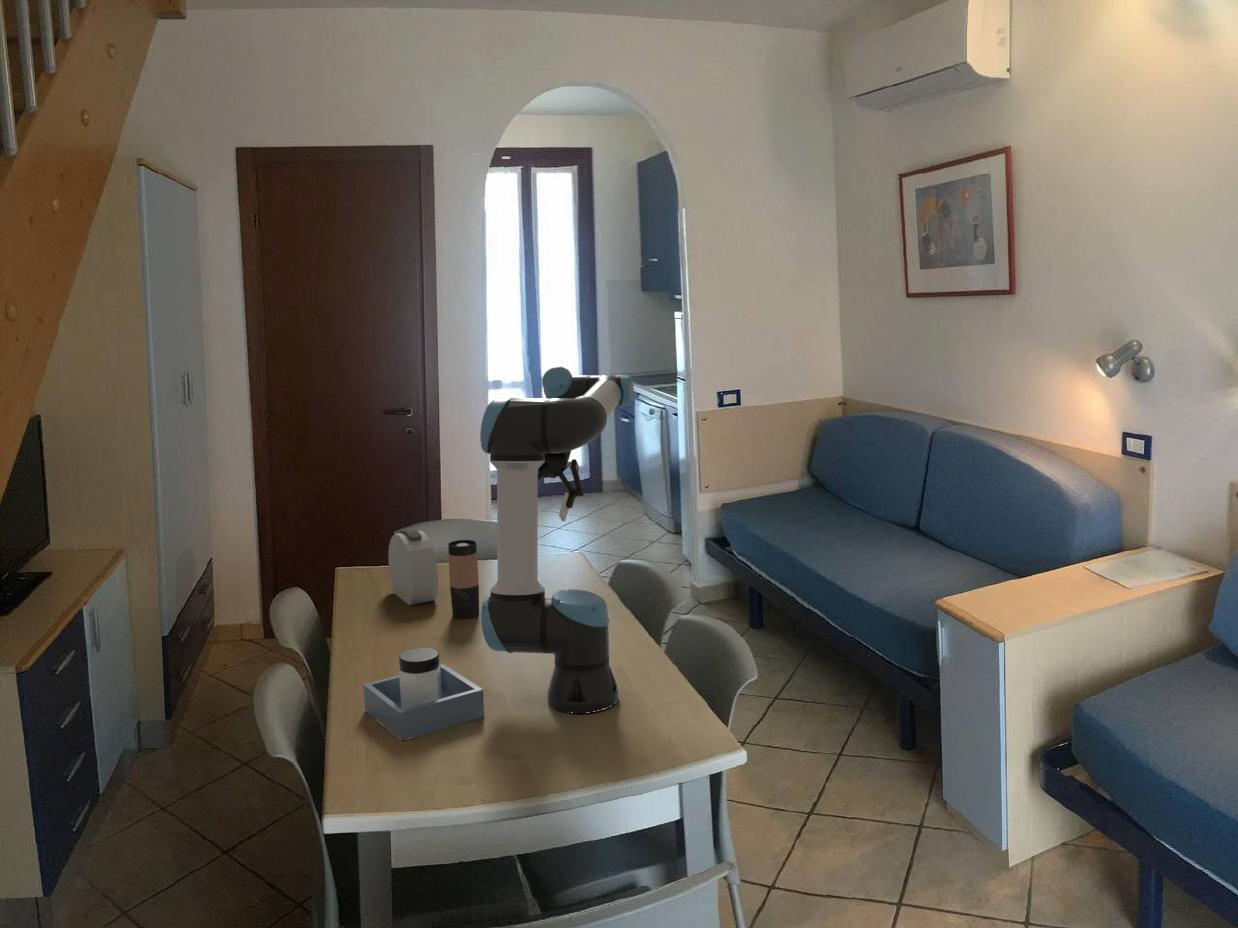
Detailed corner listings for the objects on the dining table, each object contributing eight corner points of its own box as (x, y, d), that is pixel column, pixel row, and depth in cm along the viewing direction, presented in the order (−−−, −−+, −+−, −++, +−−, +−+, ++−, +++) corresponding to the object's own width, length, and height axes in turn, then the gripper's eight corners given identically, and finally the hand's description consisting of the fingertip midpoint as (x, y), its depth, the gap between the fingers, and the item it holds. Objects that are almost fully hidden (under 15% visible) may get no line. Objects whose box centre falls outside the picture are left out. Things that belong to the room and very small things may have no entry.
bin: (484, 716, 212) (482, 689, 211) (401, 741, 202) (399, 712, 201) (444, 689, 227) (442, 663, 226) (365, 711, 217) (363, 684, 215)
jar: (409, 721, 209) (405, 665, 207) (395, 707, 216) (391, 653, 213) (450, 710, 213) (446, 655, 211) (435, 697, 220) (431, 644, 218)
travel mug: (486, 613, 278) (482, 541, 275) (467, 621, 272) (463, 548, 268) (464, 608, 282) (460, 538, 279) (445, 616, 276) (441, 544, 273)
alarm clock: (439, 604, 287) (435, 535, 283) (414, 609, 283) (409, 539, 280) (414, 585, 305) (410, 520, 302) (390, 589, 301) (385, 524, 298)
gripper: (607, 455, 257) (588, 527, 246) (516, 452, 265) (494, 522, 254) (600, 437, 251) (579, 511, 240) (507, 435, 259) (483, 505, 248)
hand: (535, 516), depth 247 cm, fingers open, 13 cm apart
